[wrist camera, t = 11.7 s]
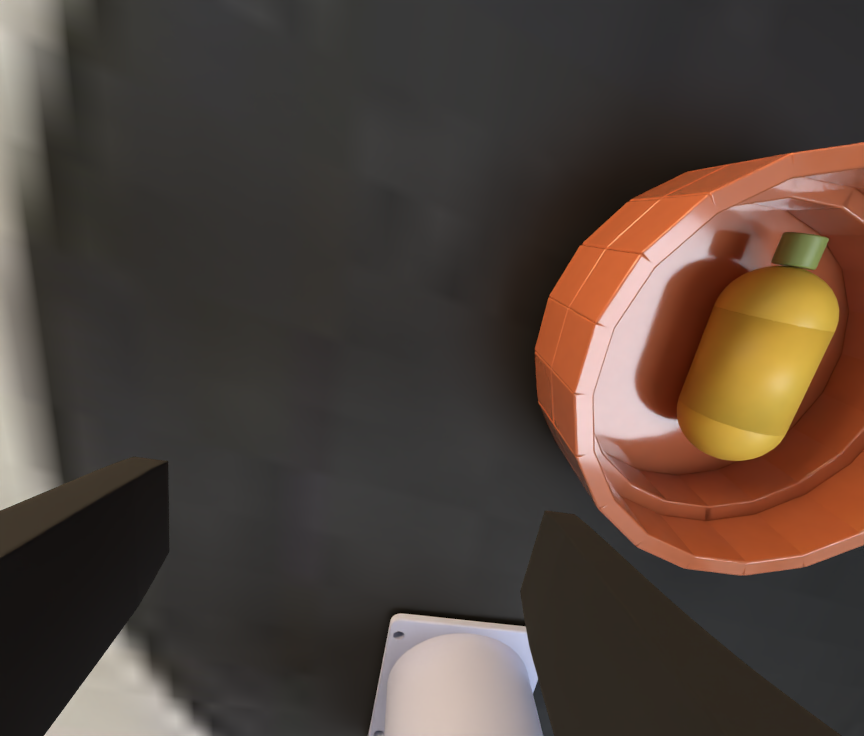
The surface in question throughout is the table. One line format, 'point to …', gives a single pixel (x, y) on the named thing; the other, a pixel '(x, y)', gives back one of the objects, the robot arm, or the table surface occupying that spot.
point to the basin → (673, 355)
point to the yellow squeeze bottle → (759, 354)
